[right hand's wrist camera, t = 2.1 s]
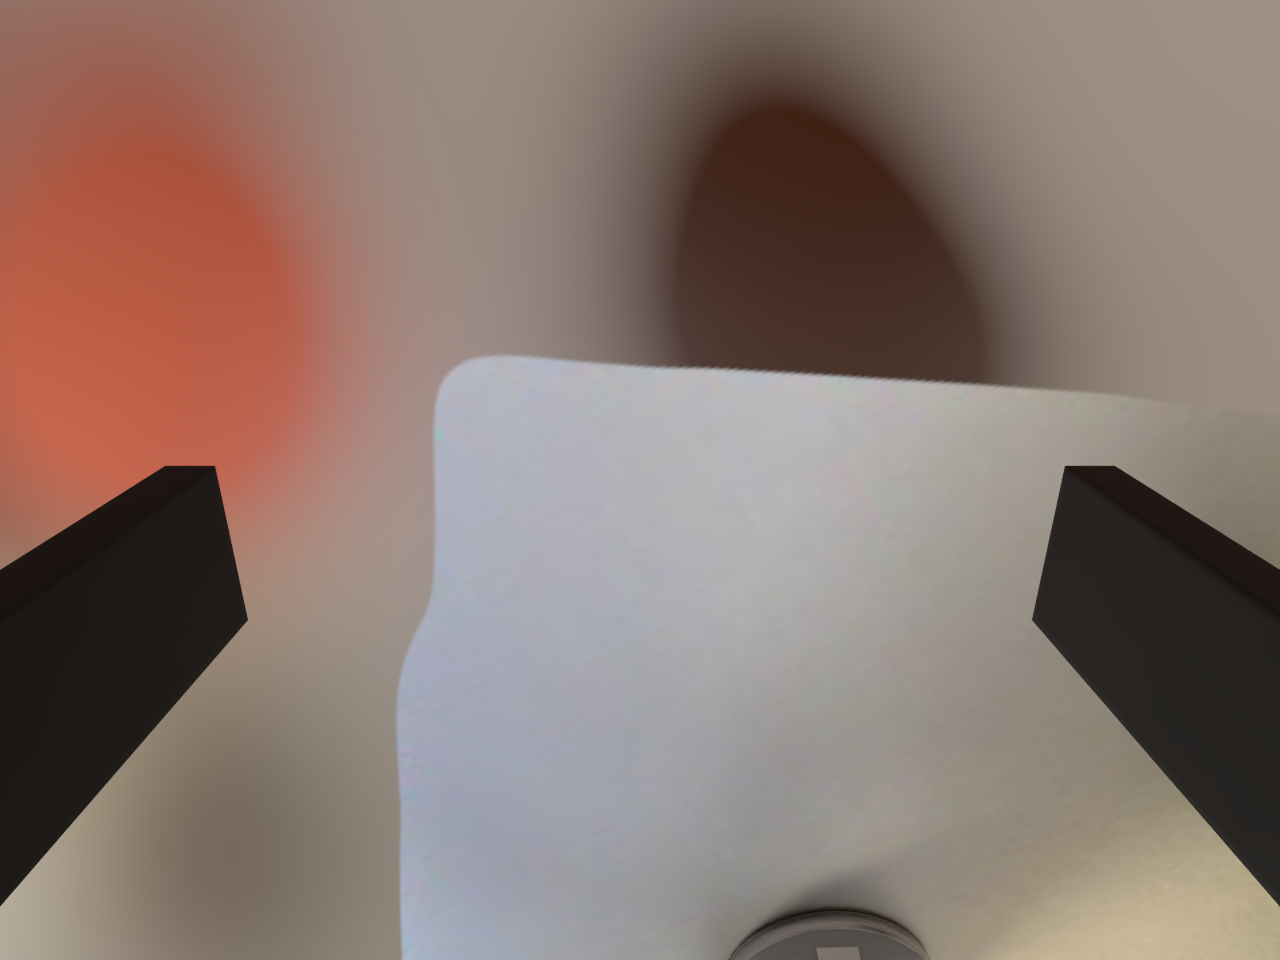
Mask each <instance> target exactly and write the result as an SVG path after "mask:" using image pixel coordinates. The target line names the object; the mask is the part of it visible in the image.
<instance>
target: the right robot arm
mask: <svg viewBox="0 0 1280 960" xmlns="http://www.w3.org/2000/svg"><path fill="white" fill-rule="evenodd" d="M247 620H248V618H247V614H246V609H245V604H244V599H243V595H242V590H241V585H240V581H239V576H238V572H237V567H236V562H235V557H234V553H233V548H232V544H231V539H230V534H229V529H228V525H227V520H226V515H225V511H224V506H223V501H222V497H221V492H220V488H219V483H218V478H217V473H216V469H215V466H164V467H163V468H161V469H160V470H158V471H156V472H155V473H153V474H152V475H150V476H149V477H147V478H145V479H144V480H142V481H141V482H139V483H137V484H136V485H134V486H133V487H131V488H130V489H128V490H126V491H125V492H123V493H122V494H120V495H118V496H117V497H115V498H114V499H112V500H110V501H109V502H107V503H106V504H104V505H103V506H101V507H99V508H98V509H96V510H95V511H93V512H91V513H90V514H88V515H87V516H85V517H83V518H82V519H80V520H79V521H77V522H76V523H74V524H72V525H71V526H69V527H68V528H66V529H64V530H63V531H61V532H60V533H58V534H56V535H55V536H53V537H52V538H50V539H49V540H47V541H45V542H44V543H42V544H41V545H39V546H37V547H36V548H34V549H33V550H31V551H29V552H28V553H26V554H25V555H23V556H22V557H20V558H18V559H17V560H15V561H14V562H12V563H11V564H9V565H7V566H6V567H4V568H3V569H1V570H0V906H1V905H2V904H3V903H4V901H5V900H6V899H7V898H8V897H9V896H10V894H11V893H12V892H13V891H14V890H15V889H16V887H17V886H18V885H19V884H20V883H21V882H22V881H23V879H24V878H25V877H26V876H27V875H28V874H29V872H30V871H31V870H32V869H33V868H34V867H35V866H36V864H37V863H38V862H39V861H40V860H41V859H42V857H43V856H44V855H45V854H46V853H47V852H48V850H49V849H50V848H51V847H52V846H53V845H54V844H55V842H56V841H57V840H58V839H59V838H60V837H61V835H62V834H63V833H64V832H65V831H66V830H67V829H68V827H69V826H70V825H71V824H72V823H73V822H74V820H75V819H76V818H77V817H78V816H79V815H80V813H81V812H82V811H83V810H84V809H85V808H86V807H87V805H88V804H89V803H90V802H91V801H92V800H93V798H94V797H95V796H96V795H97V794H98V793H99V791H100V790H101V789H102V788H103V787H104V786H105V785H106V783H107V782H108V781H109V780H110V779H111V778H112V776H113V775H114V774H115V773H116V772H117V771H118V770H119V768H120V767H121V766H122V765H123V764H124V763H125V762H126V760H127V759H128V758H129V757H130V756H131V755H132V753H133V752H134V751H135V750H136V749H137V748H138V746H139V745H140V744H141V743H142V742H143V741H144V740H145V738H146V737H147V736H148V735H149V734H150V733H151V731H152V730H153V729H154V728H155V727H156V726H157V724H158V723H159V722H160V721H161V720H162V719H163V718H164V716H165V715H166V714H167V713H168V712H169V711H170V710H171V708H172V707H173V706H174V705H175V704H176V703H177V701H178V700H179V699H180V698H181V697H182V696H183V694H184V693H185V692H186V691H187V690H188V689H189V688H190V686H191V685H192V684H193V683H194V682H195V681H196V679H197V678H198V677H199V676H200V675H201V674H202V672H203V671H204V670H205V669H206V668H207V667H208V666H209V664H210V663H211V662H212V661H213V660H214V659H215V657H216V656H217V655H218V654H219V653H220V652H221V651H222V649H223V648H224V647H225V646H226V645H227V644H228V642H229V641H230V640H231V639H232V638H233V637H234V635H235V634H236V633H237V632H238V631H239V630H240V629H241V627H242V626H243V625H244V624H245V623H246V622H247ZM1032 621H1033V622H1034V623H1035V624H1036V625H1037V626H1038V627H1039V629H1040V630H1041V631H1042V632H1043V633H1044V634H1045V636H1046V637H1047V638H1048V639H1049V640H1050V641H1051V642H1052V644H1053V645H1054V646H1055V647H1056V648H1057V649H1058V651H1059V652H1060V653H1061V654H1062V655H1063V656H1064V658H1065V659H1066V660H1067V661H1068V662H1069V663H1070V664H1071V666H1072V667H1073V668H1074V669H1075V670H1076V671H1077V673H1078V674H1079V675H1080V676H1081V677H1082V678H1083V679H1084V681H1085V682H1086V683H1087V684H1088V685H1089V686H1090V688H1091V689H1092V690H1093V691H1094V692H1095V693H1096V694H1097V696H1098V697H1099V698H1100V699H1101V700H1102V701H1103V703H1104V704H1105V705H1106V706H1107V707H1108V708H1109V710H1110V711H1111V712H1112V713H1113V714H1114V715H1115V716H1116V718H1117V719H1118V720H1119V721H1120V722H1121V723H1122V725H1123V726H1124V727H1125V728H1126V729H1127V730H1128V731H1129V733H1130V734H1131V735H1132V736H1133V737H1134V738H1135V740H1136V741H1137V742H1138V743H1139V744H1140V745H1141V747H1142V748H1143V749H1144V750H1145V751H1146V752H1147V753H1148V755H1149V756H1150V757H1151V758H1152V759H1153V760H1154V762H1155V763H1156V764H1157V765H1158V766H1159V767H1160V768H1161V770H1162V771H1163V772H1164V773H1165V774H1166V775H1167V777H1168V778H1169V779H1170V780H1171V781H1172V782H1173V783H1174V785H1175V786H1176V787H1177V788H1178V789H1179V790H1180V792H1181V793H1182V794H1183V795H1184V796H1185V797H1186V799H1187V800H1188V801H1189V802H1190V803H1191V804H1192V805H1193V807H1194V808H1195V809H1196V810H1197V811H1198V812H1199V814H1200V815H1201V816H1202V817H1203V818H1204V819H1205V820H1206V822H1207V823H1208V824H1209V825H1210V826H1211V827H1212V829H1213V830H1214V831H1215V832H1216V833H1217V834H1218V835H1219V837H1220V838H1221V839H1222V840H1223V841H1224V842H1225V844H1226V845H1227V846H1228V847H1229V848H1230V849H1231V851H1232V852H1233V853H1234V854H1235V855H1236V856H1237V857H1238V859H1239V860H1240V861H1241V862H1242V863H1243V864H1244V866H1245V867H1246V868H1247V869H1248V870H1249V871H1250V872H1251V874H1252V875H1253V876H1254V877H1255V878H1256V879H1257V881H1258V882H1259V883H1260V884H1261V885H1262V886H1263V887H1264V889H1265V890H1266V891H1267V892H1268V893H1269V894H1270V896H1271V897H1272V898H1273V899H1274V900H1275V901H1276V903H1277V904H1278V905H1279V906H1280V570H1279V569H1277V568H1276V567H1274V566H1273V565H1271V564H1270V563H1268V562H1266V561H1265V560H1263V559H1262V558H1260V557H1258V556H1257V555H1255V554H1254V553H1252V552H1251V551H1249V550H1247V549H1246V548H1244V547H1243V546H1241V545H1239V544H1238V543H1236V542H1235V541H1233V540H1231V539H1230V538H1228V537H1227V536H1225V535H1224V534H1222V533H1220V532H1219V531H1217V530H1216V529H1214V528H1212V527H1211V526H1209V525H1208V524H1206V523H1204V522H1203V521H1201V520H1200V519H1198V518H1197V517H1195V516H1193V515H1192V514H1190V513H1189V512H1187V511H1185V510H1184V509H1182V508H1181V507H1179V506H1177V505H1176V504H1174V503H1173V502H1171V501H1170V500H1168V499H1166V498H1165V497H1163V496H1162V495H1160V494H1158V493H1157V492H1155V491H1154V490H1152V489H1150V488H1149V487H1147V486H1146V485H1144V484H1143V483H1141V482H1139V481H1138V480H1136V479H1135V478H1133V477H1131V476H1130V475H1128V474H1127V473H1125V472H1124V471H1122V470H1120V469H1119V468H1117V467H1116V466H1065V469H1064V473H1063V478H1062V483H1061V487H1060V492H1059V497H1058V501H1057V506H1056V511H1055V515H1054V520H1053V525H1052V529H1051V534H1050V539H1049V543H1048V548H1047V553H1046V557H1045V562H1044V567H1043V571H1042V576H1041V581H1040V585H1039V590H1038V595H1037V599H1036V604H1035V609H1034V613H1033V618H1032ZM729 960H929V958H928V955H927V953H926V952H925V950H924V949H923V947H922V946H921V944H920V943H919V942H918V941H917V940H916V939H915V938H914V937H913V936H912V935H911V934H909V933H908V932H907V931H905V930H904V929H903V928H901V927H899V926H897V925H896V924H894V923H891V922H889V921H887V920H885V919H882V918H879V917H876V916H872V915H868V914H864V913H858V912H850V911H821V912H812V913H807V914H802V915H798V916H794V917H790V918H787V919H784V920H781V921H779V922H776V923H774V924H772V925H770V926H768V927H766V928H764V929H762V930H761V931H759V932H757V933H756V934H754V935H753V936H751V937H750V938H749V939H747V940H746V941H745V942H744V943H743V944H742V945H741V946H740V947H739V948H738V949H737V950H736V951H735V952H734V954H733V955H732V956H731V958H730V959H729Z"/></svg>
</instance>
